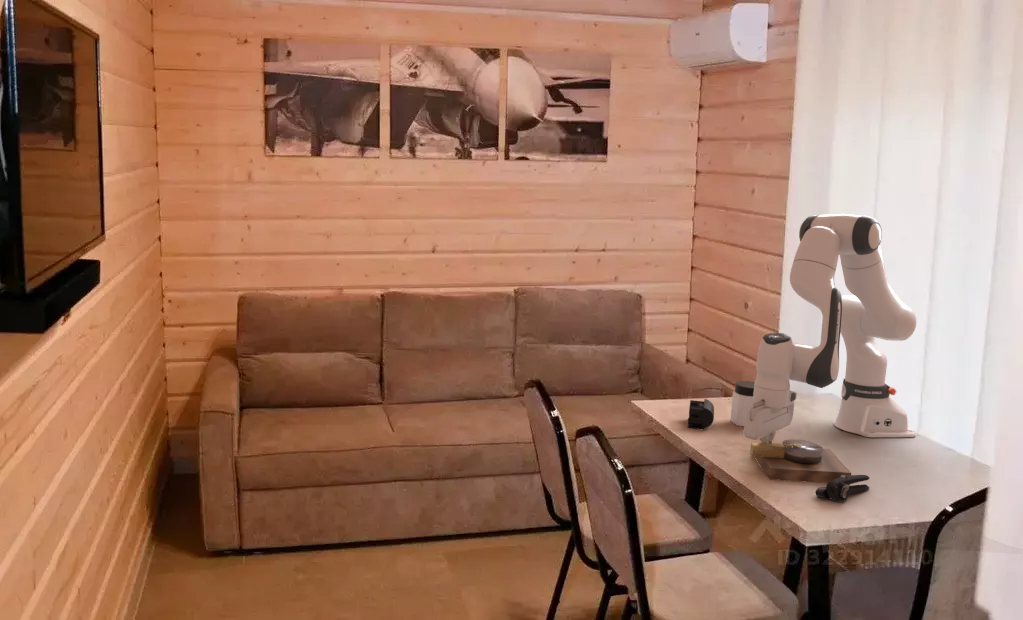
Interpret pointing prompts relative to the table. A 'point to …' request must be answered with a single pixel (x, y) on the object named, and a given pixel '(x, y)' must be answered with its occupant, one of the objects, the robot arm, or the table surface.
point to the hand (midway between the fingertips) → (766, 448)
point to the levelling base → (804, 469)
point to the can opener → (842, 487)
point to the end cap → (700, 414)
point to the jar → (742, 401)
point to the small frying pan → (789, 451)
